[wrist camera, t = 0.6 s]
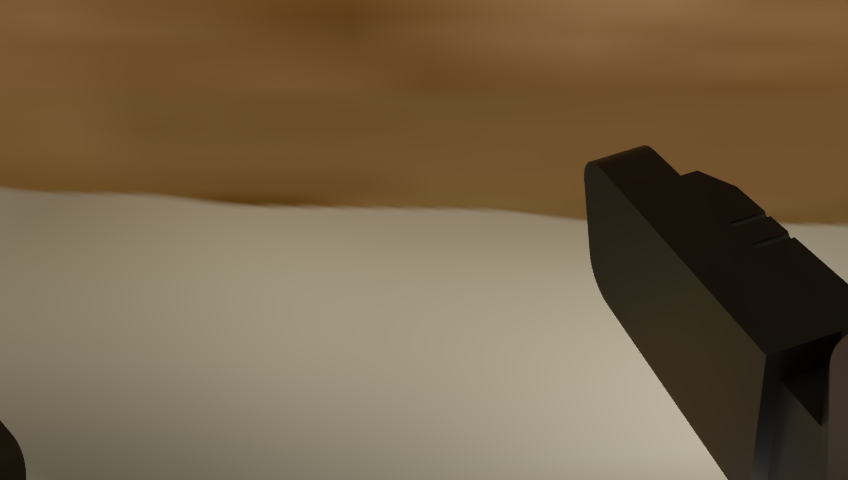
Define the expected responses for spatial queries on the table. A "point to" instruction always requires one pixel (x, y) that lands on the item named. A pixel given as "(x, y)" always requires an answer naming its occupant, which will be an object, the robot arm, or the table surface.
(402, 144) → the table surface
